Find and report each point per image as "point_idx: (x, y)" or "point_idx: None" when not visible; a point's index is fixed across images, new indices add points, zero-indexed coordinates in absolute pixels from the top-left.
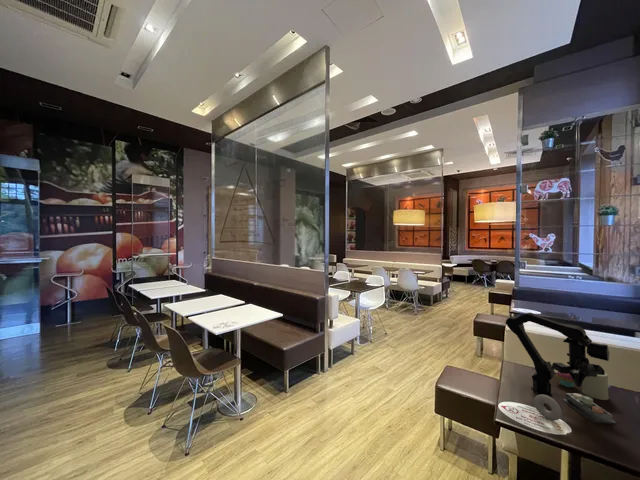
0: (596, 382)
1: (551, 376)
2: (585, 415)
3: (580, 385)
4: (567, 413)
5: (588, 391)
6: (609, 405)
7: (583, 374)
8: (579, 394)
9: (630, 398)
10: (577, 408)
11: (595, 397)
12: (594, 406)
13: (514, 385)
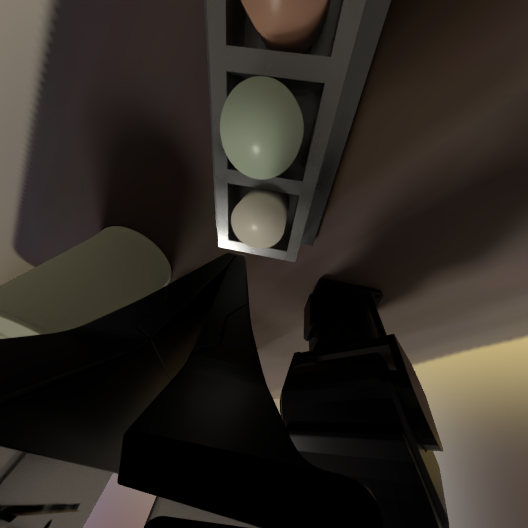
0: (75, 286)
1: (387, 390)
2: (377, 35)
3: (221, 257)
4: (460, 105)
5: (153, 268)
6: (121, 185)
7: (21, 431)
8: (238, 232)
9: (27, 224)
10: (330, 151)
11: (147, 241)
12: (279, 18)
13: (403, 347)
